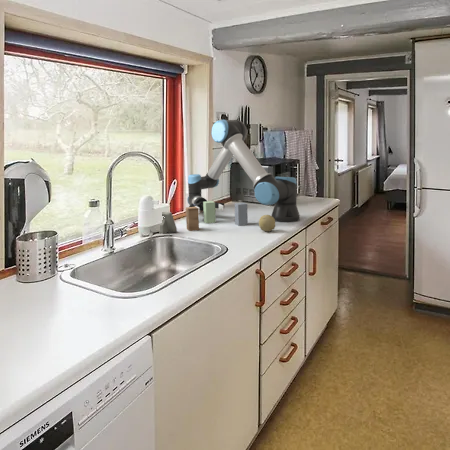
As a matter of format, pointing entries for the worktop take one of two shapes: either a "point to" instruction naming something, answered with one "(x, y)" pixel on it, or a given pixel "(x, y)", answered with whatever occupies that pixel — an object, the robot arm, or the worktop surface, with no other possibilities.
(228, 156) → the robot arm
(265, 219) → the potato
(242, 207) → the slate grey block
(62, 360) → the worktop surface
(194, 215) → the walnut block
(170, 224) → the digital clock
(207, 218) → the sage green block
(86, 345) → the worktop surface
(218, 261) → the worktop surface
